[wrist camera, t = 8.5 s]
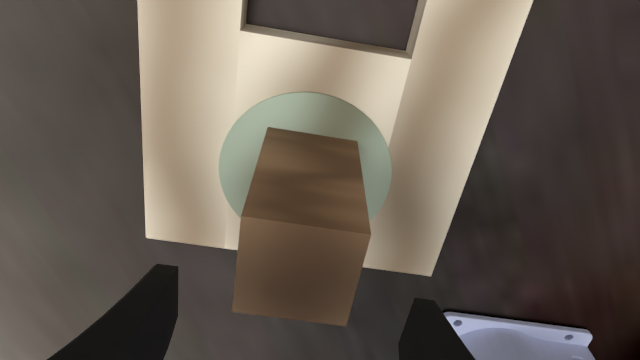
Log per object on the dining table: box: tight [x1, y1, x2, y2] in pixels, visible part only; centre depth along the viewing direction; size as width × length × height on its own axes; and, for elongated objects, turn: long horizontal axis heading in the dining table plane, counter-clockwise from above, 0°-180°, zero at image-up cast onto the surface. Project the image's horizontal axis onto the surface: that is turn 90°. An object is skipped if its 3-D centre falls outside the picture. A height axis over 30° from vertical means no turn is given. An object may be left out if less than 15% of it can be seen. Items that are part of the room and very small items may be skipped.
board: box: [137, 0, 533, 276], centre depth 19 cm, size 15×20×2 cm
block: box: [232, 127, 371, 326], centre depth 18 cm, size 4×4×7 cm
